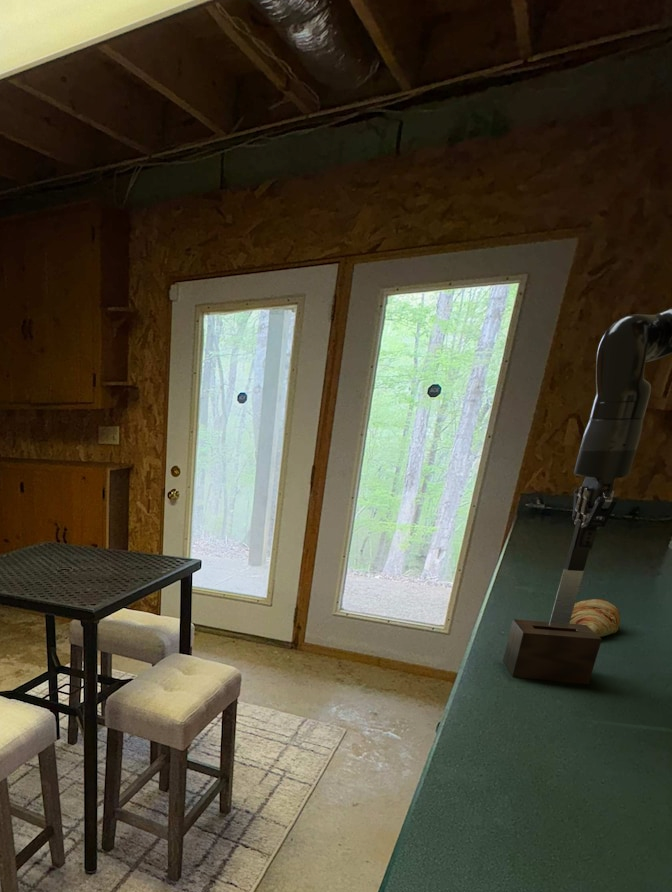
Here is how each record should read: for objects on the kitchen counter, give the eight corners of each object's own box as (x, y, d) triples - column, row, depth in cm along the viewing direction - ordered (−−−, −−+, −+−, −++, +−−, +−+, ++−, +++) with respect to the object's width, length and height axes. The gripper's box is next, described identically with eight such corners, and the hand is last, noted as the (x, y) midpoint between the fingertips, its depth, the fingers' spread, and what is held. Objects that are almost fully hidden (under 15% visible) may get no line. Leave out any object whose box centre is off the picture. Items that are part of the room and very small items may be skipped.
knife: (566, 625, 118) (595, 519, 111) (569, 628, 116) (599, 521, 109) (547, 624, 119) (575, 518, 112) (550, 627, 118) (579, 520, 110)
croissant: (599, 658, 135) (631, 631, 130) (554, 630, 139) (583, 603, 134) (601, 629, 150) (630, 604, 145) (560, 605, 154) (587, 579, 149)
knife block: (573, 667, 123) (586, 624, 120) (588, 684, 116) (602, 639, 112) (502, 661, 127) (512, 619, 124) (512, 676, 120) (523, 632, 117)
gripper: (653, 449, 99) (621, 557, 105) (619, 444, 111) (592, 541, 117) (595, 450, 101) (567, 555, 108) (568, 445, 113) (544, 539, 120)
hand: (580, 547), depth 112 cm, fingers closed on knife, 2 cm apart
